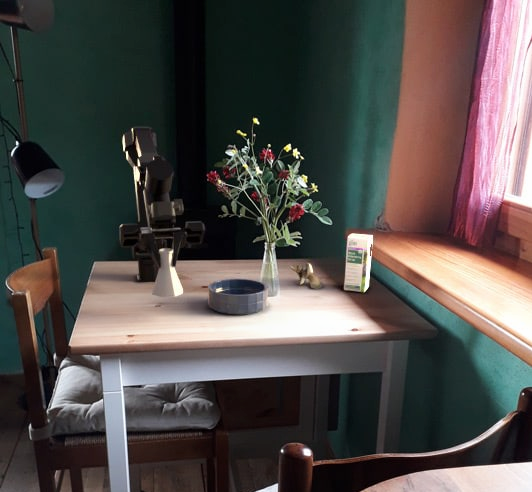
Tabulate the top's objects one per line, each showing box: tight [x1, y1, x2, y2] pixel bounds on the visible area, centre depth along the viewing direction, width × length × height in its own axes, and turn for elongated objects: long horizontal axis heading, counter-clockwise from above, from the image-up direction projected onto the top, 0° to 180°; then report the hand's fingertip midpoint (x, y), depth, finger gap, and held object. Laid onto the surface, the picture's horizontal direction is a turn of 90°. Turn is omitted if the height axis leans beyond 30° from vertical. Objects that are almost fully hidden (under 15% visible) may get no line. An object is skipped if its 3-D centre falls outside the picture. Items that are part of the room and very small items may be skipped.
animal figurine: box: [289, 262, 323, 290], centre depth 168 cm, size 8×7×9 cm
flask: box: [151, 248, 184, 298], centre depth 138 cm, size 7×7×10 cm
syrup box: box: [343, 233, 374, 293], centre depth 163 cm, size 6×6×14 cm
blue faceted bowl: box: [207, 278, 269, 316], centre depth 149 cm, size 14×14×5 cm
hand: (167, 266), depth 136 cm, fingers closed on flask, 3 cm apart
